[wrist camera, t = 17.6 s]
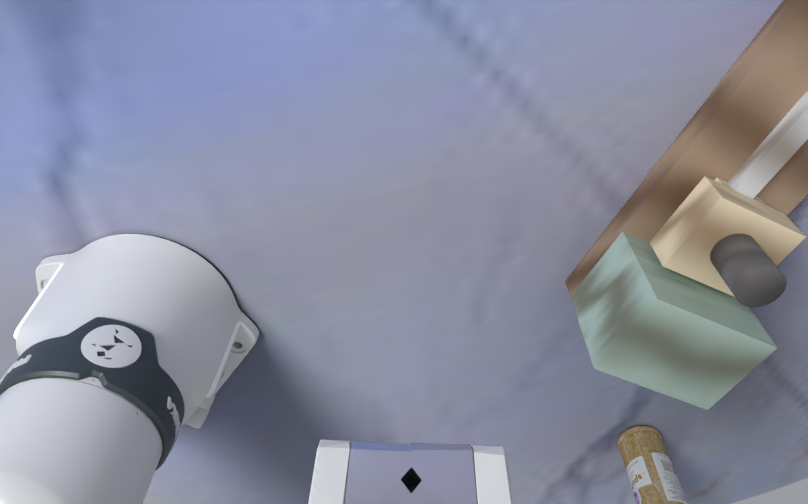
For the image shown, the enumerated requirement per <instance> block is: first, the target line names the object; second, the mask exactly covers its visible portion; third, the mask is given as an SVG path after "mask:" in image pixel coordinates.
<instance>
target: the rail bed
mask: <svg viewBox="0 0 808 504" xmlns="http://www.w3.org/2000/svg"><path fill="white" fill-rule="evenodd" d="M704 176H706V177H708V178H710V179H712V180H715V179H716V178H719V179H721V180H724V181H726V182H727V183H728V185H729V186H730V187H731V188H732V189H733V190H735V191H737V192H740V193H742V194H744V195H746V196H748V197H750V198H752V199H754V197H755V196H757V197H759V198H760V199H761V200H762V201H763V202H764V203H765V204H766V205H767V206H769V207H771V208H773V209H775V210H778V211H780V212H782V213H784V214H785V215H786V216H787V215H788V214H789V213H790V212H791V211H792V210H793V209H794V208H795V207H796V206H797V205H798V204H799V203H800V202H801V201H802V200H803V199H804V198H805V196H806V195H807V194H808V0H784V1H783V2H782V3H781V5H780V6H779V7H778V9H777V10H776V11H775V12H774V14H773V15H772V16H771V18H770V19H769V20H768V21H767V23H766V24H765V25H764V27H763V28H762V29H761V30H760V32H759V33H758V34H757V36H756V37H755V38H754V39H753V41H752V42H751V43H750V45H749V46H748V47H747V48H746V50H745V51H744V52H743V54H742V55H741V56H740V57H739V59H738V60H737V61H736V63H735V64H734V65H733V66H732V68H731V69H730V70H729V72H728V73H727V74H726V75H725V77H724V78H723V79H722V81H721V82H720V83H719V84H718V86H717V87H716V88H715V90H714V91H713V92H712V93H711V95H710V96H709V97H708V99H707V100H706V101H705V102H704V104H703V105H702V106H701V108H700V109H699V110H698V112H697V113H696V114H695V115H694V117H693V118H692V119H691V121H690V122H689V123H688V124H687V126H686V127H685V128H684V130H683V131H682V132H681V133H680V135H679V136H678V137H677V139H676V140H675V141H674V142H673V144H672V145H671V146H670V148H669V149H668V150H667V151H666V153H665V154H664V155H663V157H662V158H661V159H660V160H659V162H658V163H657V164H656V166H655V167H654V168H653V169H652V171H651V172H650V173H649V175H648V176H647V177H646V178H645V180H644V181H643V182H642V184H641V185H640V186H639V187H638V189H637V190H636V191H635V193H634V194H633V195H632V196H631V198H630V199H629V200H628V202H627V203H626V204H625V205H624V207H623V208H622V209H621V211H620V212H619V213H618V215H617V216H616V217H615V218H614V220H613V221H612V222H611V224H610V225H609V226H608V227H607V229H606V230H605V231H604V233H603V234H602V235H601V236H600V238H599V239H598V240H597V242H596V243H595V244H594V245H593V247H592V248H591V249H590V251H589V252H588V253H587V254H586V256H585V257H584V258H583V260H582V261H581V262H580V263H579V265H578V266H577V267H576V269H575V270H574V271H573V272H572V274H571V275H570V276H569V278H568V279H567V280H566V281H565V282H566V285H567V288H568V291H569V294H570V297H571V300H572V303H573V306H574V309H575V312H576V315H577V318H578V321H579V325H580V328H581V331H582V334H583V337H584V340H585V343H586V346H587V349H588V352H589V355H590V358H591V361H592V364H593V367H594V369H596V370H599V371H601V372H604V373H607V374H610V375H612V376H615V377H618V378H621V379H623V380H626V381H629V382H631V383H634V384H637V385H640V386H642V387H645V388H648V389H651V390H653V391H656V392H659V393H662V394H664V395H667V396H670V397H673V398H675V399H678V400H681V401H684V402H686V403H689V404H692V405H694V406H697V407H700V408H703V409H705V410H708V409H710V408H711V407H712V406H713V405H714V404H715V403H716V402H717V401H719V400H720V399H721V398H722V397H723V396H724V395H725V394H726V393H728V392H729V391H730V390H731V389H732V388H733V387H734V386H735V385H737V384H738V383H739V382H740V381H741V380H742V379H743V378H744V377H746V376H747V375H748V374H749V373H750V372H751V371H752V370H753V369H755V368H756V367H757V366H758V365H759V364H760V363H761V362H762V361H764V360H765V359H766V358H767V357H768V356H769V355H770V354H771V353H773V352H774V351H775V350H776V349H777V346H776V345H775V343H774V342H773V341H772V339H771V338H770V336H769V335H768V333H767V332H766V330H765V329H764V328H763V326H762V325H761V323H760V322H759V320H758V319H757V318H756V316H755V315H754V313H753V312H752V310H751V309H750V307H748V306H744V305H742V304H740V303H739V302H738V301H737V299H736V298H735V297H734V296H732V295H729V294H727V293H724V292H722V291H720V290H717V289H715V288H713V287H710V286H708V285H706V284H703V283H701V282H699V281H696V280H694V279H691V278H689V277H687V276H684V275H682V274H680V273H677V272H675V271H673V270H670V269H668V268H665V267H663V266H662V264H661V262H660V260H659V259H658V257H657V255H656V253H655V251H654V250H653V248H652V246H651V244H650V243H649V242H650V241H651V240H652V238H653V237H654V236H655V235H656V234H657V232H658V231H659V230H660V229H661V228H662V226H663V225H664V224H665V223H666V222H667V220H668V219H669V218H670V217H671V216H672V214H673V213H674V212H675V211H676V210H677V209H678V207H679V206H680V205H681V204H682V203H683V201H684V200H685V199H686V198H687V197H688V195H689V194H690V193H691V192H692V191H693V189H694V188H695V187H696V186H697V185H698V183H699V182H700V181H701V180H702V179H703V178H704Z"/></svg>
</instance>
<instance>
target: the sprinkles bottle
mask: <svg viewBox="0 0 808 504" xmlns="http://www.w3.org/2000/svg"><path fill="white" fill-rule="evenodd" d="M617 447H618V449H619V451H620V453H621V455H622V458H623V461H624V464H625V467H626V471H627V475H628V478H629V481H630V484H631V487H632V490H633V493H634V496H635V499H636V502H637V504H688V501H687V499H686V497H685V494H684V492H683V489H682V487H681V484H680V482H679V479H678V477H677V474H676V472H675V470H674V467H673V465H672V462H671V460H670V459H669V457H668V455H667V453H666V450H665V447H664V444H663V443H662V436H661V434H660V433H659V432H658V430H656V429H654V428H652V427H648V426H636V427H634V428H630V429H628V430H626V431H624V432H623V433H622V434H621V435H620V436H619V438H618V440H617Z"/></svg>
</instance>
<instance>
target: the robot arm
mask: <svg viewBox="0 0 808 504" xmlns="http://www.w3.org/2000/svg"><path fill="white" fill-rule="evenodd" d="M36 280H37V287H38V294H39V296H38V297H37V299H36V300H35V301H34V303H33V304H32V306H31V307H30V309H29V310H28V312H27V313H26V315H25V316H24V317H23V319H22V320H21V322H20V323H19V325H18V326H17V328H16V330H15V332H14V336H13V337H14V338H15V339H16V340H17V341H16V348H17V352H18V355H19V358H18V360H17V361H16V362H15V363H14V364H13V365H12V366H11V367H10V368H9V369H8V370H7V372H6V373H5V374H4V376H3V377H2V379H1V380H0V504H143V501H144V498H145V496H146V493H147V490H148V488H149V485H150V483H151V480H152V478H153V475H154V472H155V471H156V470H157V469H158V468H159V467H160V466H161V465H162V464H163V463H164V461H165V460H166V458H167V456H168V454H169V453H170V451H171V450H172V448H173V446H174V444H175V442H176V440H177V437H178V434H179V430H180V428H181V426H182V425H183V424H186V425H189V426H191V427H194V428H196V429H198V428H199V429H200V428H201V426H202V425H203V423H204V421H205V420H206V418H207V415H208V413H209V411H210V407H211V405H212V403H213V401H214V398H215V394H216V393H217V392H218V390H219V389H220V388H221V387H222V385H223V384H224V383H225V382H226V380H227V379H228V378H229V376H230V375H231V374H232V373H233V371H234V370H235V369H236V368H237V366H238V365H239V364H240V363H241V361H242V360H243V359H244V358H245V356H246V355H247V354H248V353H249V351H250V350H251V349H252V348H253V346H254V345H255V343H256V341H257V339H258V337H259V331H258V329H257V327H256V326H255V325H254V323H253V322H252V321H251V320H250V319H249V318H248V317H247V316H246V315H245V314H244V313H242V312H241V310H240V309H239V307H238V305H237V303H236V300H235V298H234V295H233V293H232V291H231V289H230V287H229V285H228V284H227V282H226V281H225V279H224V278H223V277H222V276H221V274H220V273H219V272H218V271H217V270H216V269H215V268H214V267H213V266H212V265H211V264H210V263H208V262H207V261H206V260H205V259H203V258H202V257H201V256H199V255H198V254H196V253H195V252H193V251H191V250H189V249H187V248H185V247H183V246H181V245H179V244H177V243H174V242H172V241H169V240H166V239H162V238H158V237H154V236H149V235H141V234H120V235H113V236H108V237H104V238H101V239H98V240H96V241H94V242H92V243H90V244H88V245H87V246H85V247H84V248H82V249H80V250H79V251H77V252H75V253H72V254H65V255H56V256H51V257H47V258H44V259H43V260H42V261H41V262H40V264H39V265H38V267H37V269H36ZM237 342H239V343H237ZM308 504H513V503H512V496H511V489H510V482H509V475H508V468H507V461H506V454H505V451H504V449H503V448H502V446H476V445H472V446H471V445H470V444H428V443H411V444H397V443H380V442H363V441H347V440H322V439H321V440H320V443H319V446H318V448H317V453H316V460H315V466H314V472H313V478H312V484H311V490H310V496H309V502H308Z"/></svg>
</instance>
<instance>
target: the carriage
mask: <svg viewBox="0 0 808 504" xmlns="http://www.w3.org/2000/svg"><path fill="white" fill-rule="evenodd" d="M805 238H806V236H805V235H804V234H803V233H802V232H801V231H800V230H799V229H798V228H797V227H796V226H795V225H794V224H793V223H792V222H791V220H790V219H789V218H788V217H787V216H786V215H785V214H784V213H782V212H780V211H778V210H775V209H773V208H771V207H769V206H767V205H766V204H765V203H764V202H763V201H762V200H761V199H760V198H759V197H757V196H755V197H754V199H752V198H750V197H748V196H746V195H744V194H742V193H740V192H737V191H735V190H733V189H732V188H731V187H730V186H729V185H728V183H727V182H726V181H724V180H721V179H719V178H716V179H715V180H712V179H710V178H708V177H706V176H704V178H703V179H702V180H701V181H700V182H699V183H698V185H697V186H696V187H695V188H694V189H693V191H692V192H691V193H690V194H689V195H688V197H687V198H686V199H685V200H684V201H683V203H682V204H681V205H680V206H679V207H678V209H677V210H676V211H675V212H674V213H673V214H672V216H671V217H670V218H669V219H668V220H667V222H666V223H665V224H664V225H663V226H662V228H661V229H660V230H659V231H658V232H657V234H656V235H655V236H654V237H653V238H652V240H651V241H650V242H649V243H650V244H651V246H652V248H653V250H654V251H655V253H656V255H657V257H658V259H659V260H660V262H661V264H662V266H663V267H665V268H668V269H670V270H673V271H675V272H677V273H680V274H682V275H684V276H687V277H689V278H691V279H694V280H696V281H699V282H701V283H703V284H706V285H708V286H710V287H713V288H715V289H717V290H720V291H722V292H724V293H727V294H729V295H732V296H734V297H735V298H736V299H737V301H738V302H739V303H740V304H742V305H744V306H748V307H759V306H763V305H766V304H769V303H771V302H773V301H774V300H776V299H777V298H778V297H779V296H780V295H781V294H782V293H783V291H784V290H785V287H786V278H785V276H784V275H783V274H782V272H781V271H780V270H779V269H778V268H777V265H778V264H779V263H780V262H781V261H782V260H783V259H784V258H785V257H786V256H787V255H788V254H789V253H790V252H791V251H792V250H793V249H795V248H796V247H797V246H798V245H799V244H800V243H801V242H802V241H803V240H804V239H805Z"/></svg>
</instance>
